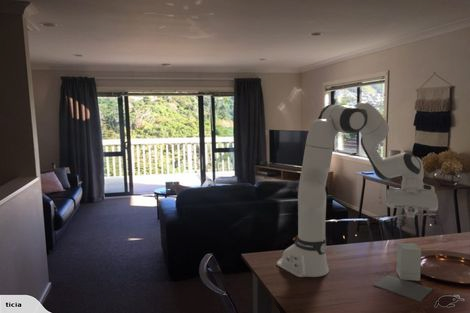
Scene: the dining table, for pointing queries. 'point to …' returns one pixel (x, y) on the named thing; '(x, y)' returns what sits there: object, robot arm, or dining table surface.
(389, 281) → the mat
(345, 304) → the dining table surface
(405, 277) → the supplement box
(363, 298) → the dining table surface
